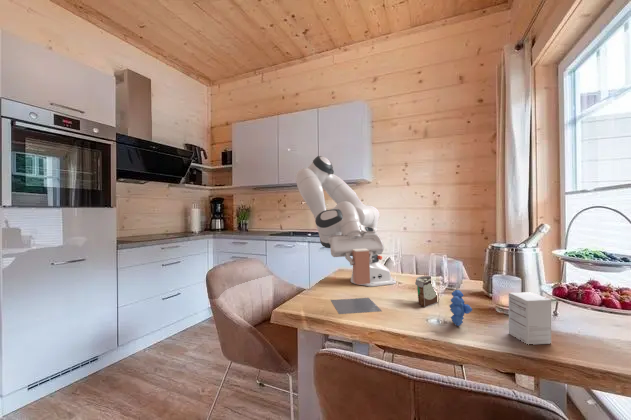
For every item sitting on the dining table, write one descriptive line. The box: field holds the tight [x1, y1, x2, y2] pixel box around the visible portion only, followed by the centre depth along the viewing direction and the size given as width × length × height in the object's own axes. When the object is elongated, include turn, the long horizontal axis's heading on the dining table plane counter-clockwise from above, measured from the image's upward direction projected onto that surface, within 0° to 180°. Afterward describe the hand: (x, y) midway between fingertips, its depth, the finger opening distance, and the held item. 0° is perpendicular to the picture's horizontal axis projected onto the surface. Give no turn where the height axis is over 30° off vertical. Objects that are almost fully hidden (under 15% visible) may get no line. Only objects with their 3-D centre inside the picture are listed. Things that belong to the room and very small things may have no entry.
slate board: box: [330, 297, 383, 315], centre depth 109 cm, size 16×15×1 cm
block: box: [352, 248, 370, 285], centre depth 104 cm, size 5×4×12 cm
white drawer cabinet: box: [508, 291, 552, 346], centre depth 83 cm, size 7×7×13 cm
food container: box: [414, 275, 438, 309], centre depth 114 cm, size 12×6×10 cm, turn 124°
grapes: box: [449, 289, 473, 327], centre depth 92 cm, size 12×7×12 cm, turn 148°
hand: (361, 263), depth 103 cm, fingers closed on block, 5 cm apart
